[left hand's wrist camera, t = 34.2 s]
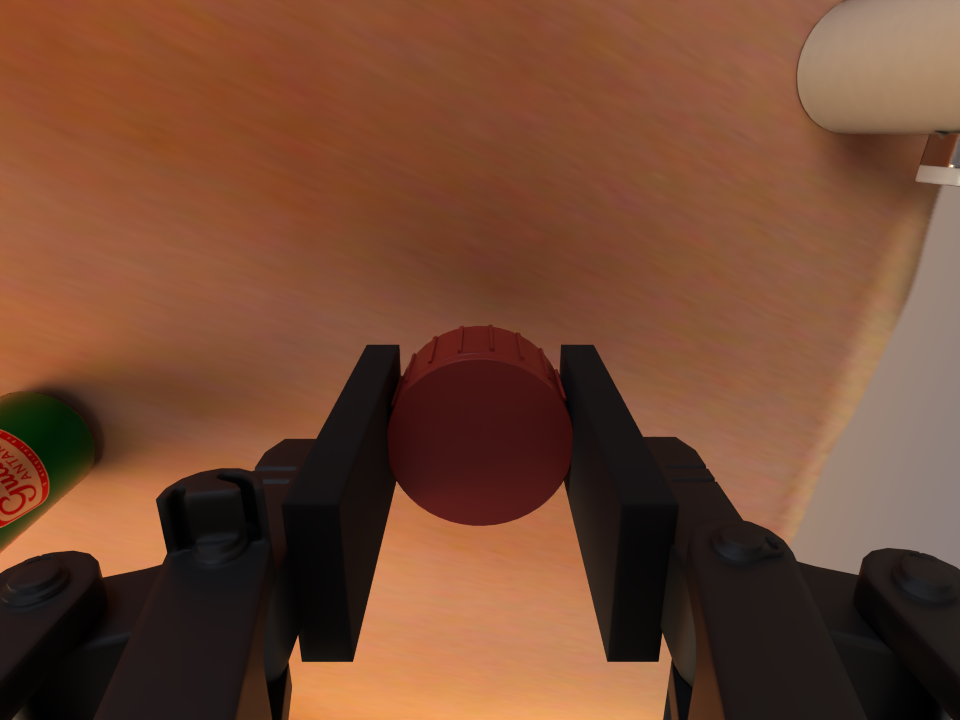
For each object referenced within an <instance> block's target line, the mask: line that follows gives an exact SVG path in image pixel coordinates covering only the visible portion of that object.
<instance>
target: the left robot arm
mask: <svg viewBox="0 0 960 720" xmlns="http://www.w3.org/2000/svg"><path fill="white" fill-rule="evenodd" d="M400 376H401V370H400V349H399V345H367V346H366V347H365V349H364V351H363V353H362V355H361V357H360V359H359V361H358V362H357V364H356V366H355V368H354V370H353V372H352V374H351V375H350V377H349V379H348V381H347V383H346V385H345V387H344V388H343V390H342V392H341V394H340V396H339V398H338V400H337V402H336V403H335V405H334V407H333V409H332V411H331V413H330V415H329V416H328V418H327V420H326V422H325V424H324V426H323V428H322V429H321V431H320V433H319V435H318V437H317V439H284V440H283V441H281V442H280V443H278V444H277V445H275V446H274V447H272V448H271V449H269V450H268V451H266V452H265V453H264V455H263V456H262V458H261V459H260V461H259V462H258V464H257V465H256V467H255V471H252V472H251V471H247V470H243V469H240V468H220V469H215V470H209V471H204V472H200V473H197V474H194V475H191V476H188V477H186V478H183V479H181V480H179V481H177V482H176V483H174V484H172V485H171V486H169V487H167V488H166V489H165V490H164V491H163V492H162V493H161V494H160V495H159V497H158V498H157V499H156V502H157V507H158V512H159V516H160V521H161V526H162V530H163V535H164V540H165V544H166V549H167V555H166V557H165V559H164V562H163V564H162V565H158V566H155V567H151V568H147V569H143V570H138V571H133V572H128V573H123V574H119V575H114V576H109V577H104V578H103V577H102V574H101V570H100V566H99V562H98V561H97V560H96V559H95V558H94V557H93V556H91V555H90V554H88V553H83V552H78V551H65V552H53V553H48V554H43V555H42V556H36V557H33V558H30V559H27V560H25V561H24V562H22V563H19V564H17V565H15V566H13V567H11V568H8V569H6V570H5V571H3V572H2V573H0V720H288V719H289V710H290V701H291V692H292V683H291V676H290V669H289V662H288V661H289V658H290V656H291V653H292V650H293V647H294V645H295V642H296V639H297V636H299V643H300V651H301V658H302V662H353V659H354V655H355V651H356V647H357V643H358V639H359V635H360V630H361V626H362V622H363V618H364V614H365V610H366V605H367V601H368V597H369V593H370V589H371V585H372V581H373V576H374V572H375V568H376V564H377V560H378V556H379V551H380V547H381V543H382V539H383V535H384V531H385V526H386V522H387V518H388V514H389V510H390V506H391V502H392V497H393V493H394V489H395V485H396V481H397V480H396V478H395V476H394V475H393V473H392V470H391V467H390V464H389V451H388V433H387V426H388V422H389V418H390V415H391V412H392V409H393V408H390V405H391V402H392V399H393V396H394V393H395V390H396V387H397V384H398V381H399V378H400ZM560 379H561V382H562V385H563V388H564V391H565V394H566V397H567V400H566V401H565V402H566V405H567V408H568V411H569V414H570V417H571V421H572V425H573V441H572V457H571V465H570V468H569V470H568V473H567V475H566V477H565V479H564V483H565V487H566V492H567V496H568V500H569V504H570V508H571V512H572V517H573V521H574V525H575V529H576V533H577V537H578V541H579V546H580V550H581V554H582V558H583V562H584V566H585V571H586V575H587V579H588V583H589V587H590V591H591V595H592V600H593V604H594V608H595V612H596V616H597V620H598V625H599V629H600V633H601V637H602V641H603V645H604V649H605V654H606V658H607V662H659V654H660V646H661V639H662V632H663V635H664V638H665V640H666V643H667V646H668V649H669V651H670V654H671V657H672V662H671V669H670V676H669V683H668V690H667V697H666V704H665V711H664V718H663V720H951V719H952V720H960V570H959V569H958V568H957V567H955V566H953V565H950V564H948V563H946V562H944V561H941V560H939V559H937V558H936V557H934V556H931V555H928V554H924V553H919V552H917V551H912V550H905V549H893V548H885V549H880V550H875V551H871V552H870V553H869V554H868V555H867V556H865V557H864V558H863V561H862V564H861V568H860V572H859V575H855V574H850V573H845V572H840V571H835V570H830V569H825V568H821V567H816V566H812V565H808V564H804V563H801V562H798V561H796V558H795V556H794V554H793V552H792V551H791V549H790V548H789V547H788V545H787V544H786V543H785V541H784V540H783V539H781V538H780V537H778V536H777V535H776V534H774V533H773V532H771V531H770V530H768V529H766V528H764V527H761V526H759V525H756V524H754V523H752V522H748V521H744V520H743V519H742V518H741V516H740V515H739V514H738V512H737V511H736V509H735V508H734V506H733V505H732V503H731V502H730V500H729V499H728V497H727V496H726V494H725V493H724V491H723V490H722V489H721V487H720V486H719V484H718V483H717V482H715V478H714V477H713V475H712V474H711V472H710V471H709V469H706V465H705V464H704V462H703V461H702V459H701V458H700V456H699V455H698V453H697V452H696V450H694V449H693V448H691V447H690V446H688V445H687V444H685V443H684V442H682V441H681V440H679V439H678V438H676V437H643V436H642V434H641V432H640V431H639V429H638V427H637V425H636V423H635V421H634V419H633V417H632V416H631V414H630V412H629V410H628V408H627V406H626V404H625V403H624V401H623V399H622V397H621V395H620V393H619V391H618V390H617V388H616V386H615V384H614V382H613V380H612V378H611V377H610V375H609V373H608V371H607V369H606V367H605V365H604V363H603V362H602V360H601V358H600V356H599V354H598V352H597V350H596V349H595V347H594V345H561V357H560Z"/></svg>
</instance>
